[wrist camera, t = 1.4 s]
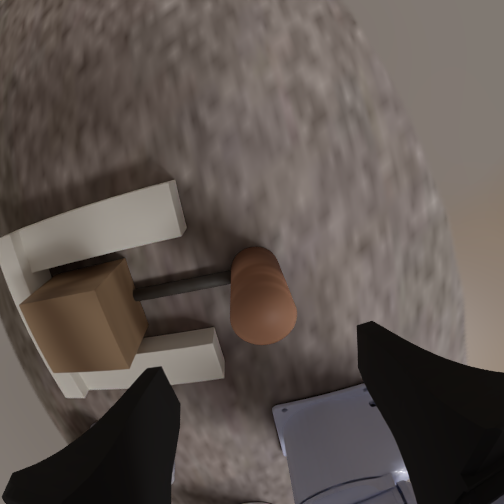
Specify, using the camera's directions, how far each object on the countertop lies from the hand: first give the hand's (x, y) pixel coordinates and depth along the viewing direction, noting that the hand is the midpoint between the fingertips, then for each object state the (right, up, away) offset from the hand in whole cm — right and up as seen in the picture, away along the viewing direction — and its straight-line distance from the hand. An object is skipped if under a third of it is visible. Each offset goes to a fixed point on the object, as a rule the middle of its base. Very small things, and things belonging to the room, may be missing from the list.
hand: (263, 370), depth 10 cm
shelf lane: (-10, +1, +9) cm, 13 cm away
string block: (-6, +2, +9) cm, 11 cm away
